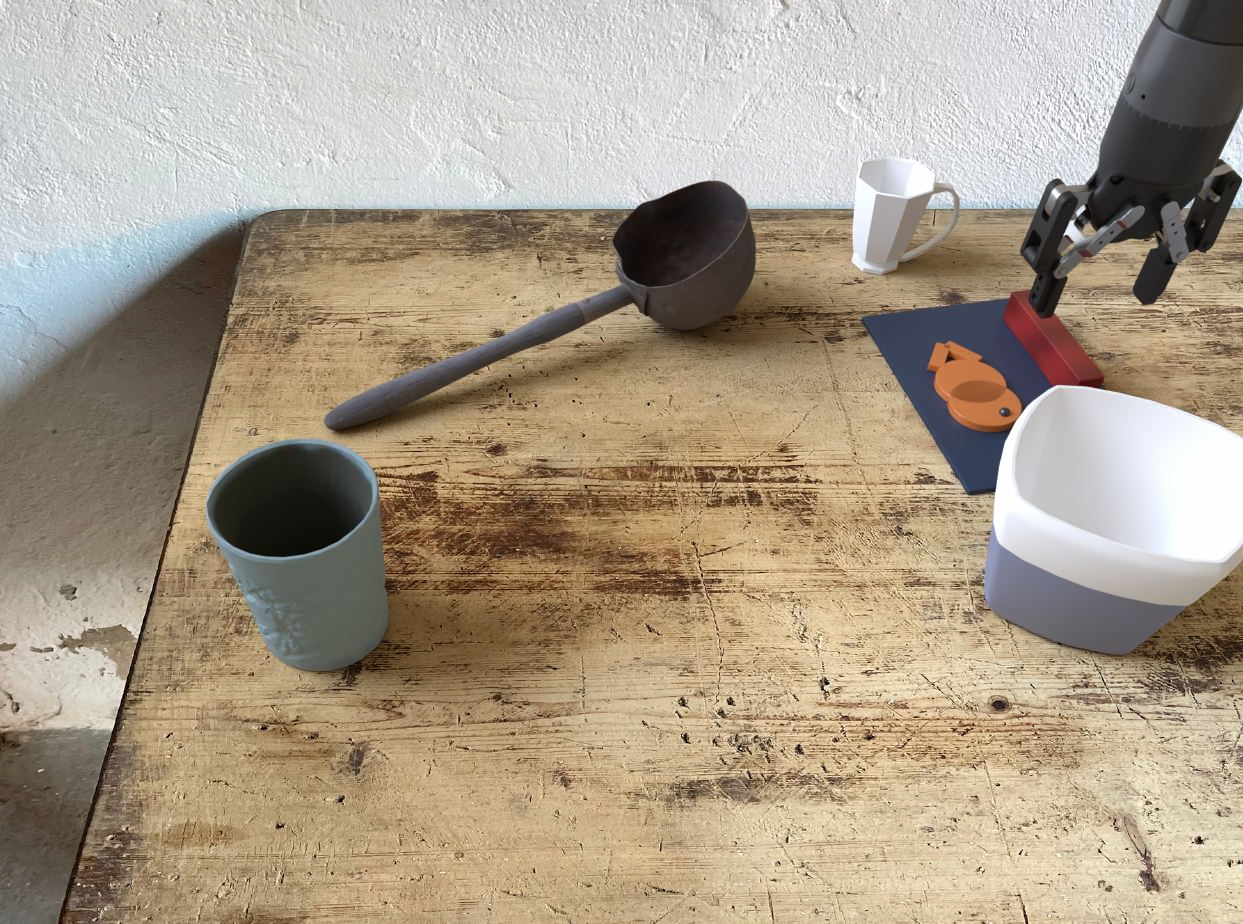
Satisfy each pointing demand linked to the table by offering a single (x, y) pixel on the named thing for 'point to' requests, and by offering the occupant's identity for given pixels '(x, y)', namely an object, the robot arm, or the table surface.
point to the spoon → (1050, 345)
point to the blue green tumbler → (305, 549)
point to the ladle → (616, 289)
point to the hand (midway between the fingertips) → (1091, 305)
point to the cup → (893, 212)
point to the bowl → (1111, 517)
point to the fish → (973, 389)
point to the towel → (970, 326)
